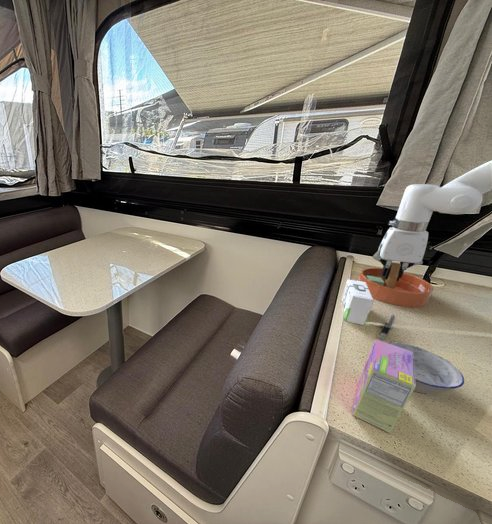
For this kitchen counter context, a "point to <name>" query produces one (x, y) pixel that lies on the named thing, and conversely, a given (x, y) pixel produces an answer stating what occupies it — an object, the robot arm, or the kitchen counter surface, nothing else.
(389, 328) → the knife
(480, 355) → the kitchen counter surface
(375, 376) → the box
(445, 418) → the kitchen counter surface
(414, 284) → the bowl
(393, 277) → the brown wooden post
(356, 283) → the ink box
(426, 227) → the robot arm
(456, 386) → the bowl
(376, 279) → the block
